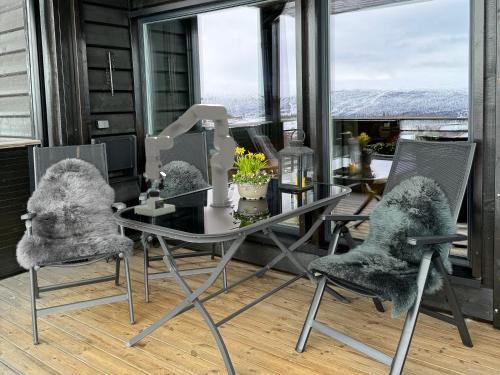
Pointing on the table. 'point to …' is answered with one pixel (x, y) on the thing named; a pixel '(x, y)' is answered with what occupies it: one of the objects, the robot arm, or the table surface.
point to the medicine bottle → (154, 200)
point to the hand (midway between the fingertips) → (155, 189)
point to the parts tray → (157, 212)
